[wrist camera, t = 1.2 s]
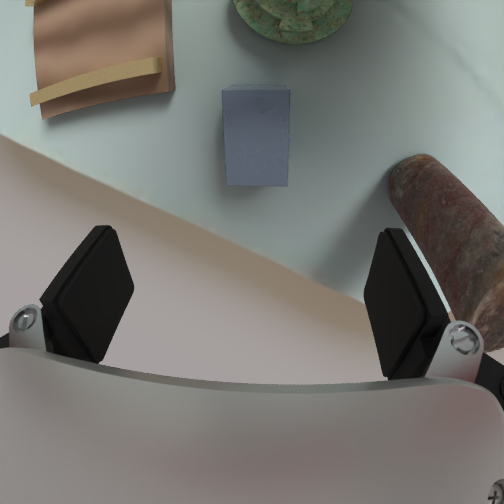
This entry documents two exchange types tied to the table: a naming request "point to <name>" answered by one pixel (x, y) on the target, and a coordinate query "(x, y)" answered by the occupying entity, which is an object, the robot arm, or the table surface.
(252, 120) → the block
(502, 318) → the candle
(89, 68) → the channel stand
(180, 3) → the table surface
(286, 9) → the decorative artifact
